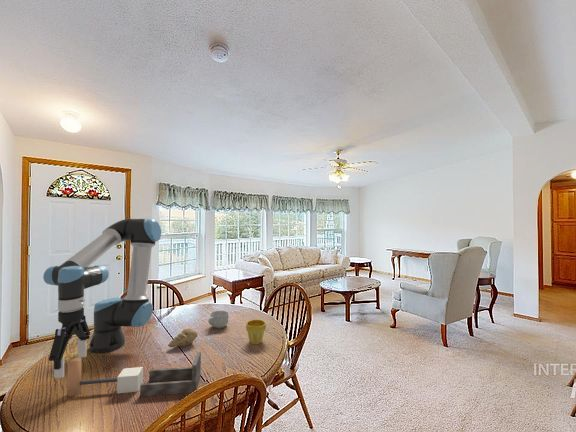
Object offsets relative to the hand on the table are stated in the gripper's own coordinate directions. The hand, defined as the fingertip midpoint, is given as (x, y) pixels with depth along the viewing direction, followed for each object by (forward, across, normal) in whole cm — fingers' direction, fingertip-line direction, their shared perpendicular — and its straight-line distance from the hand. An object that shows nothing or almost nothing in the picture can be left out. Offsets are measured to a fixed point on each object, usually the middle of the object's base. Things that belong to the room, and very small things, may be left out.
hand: (71, 366), depth 103 cm
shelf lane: (+10, -1, -35) cm, 36 cm away
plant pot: (+11, +34, -69) cm, 78 cm away
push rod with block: (+10, 0, -12) cm, 15 cm away
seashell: (+11, +33, -32) cm, 47 cm away
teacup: (+11, +56, -47) cm, 74 cm away
